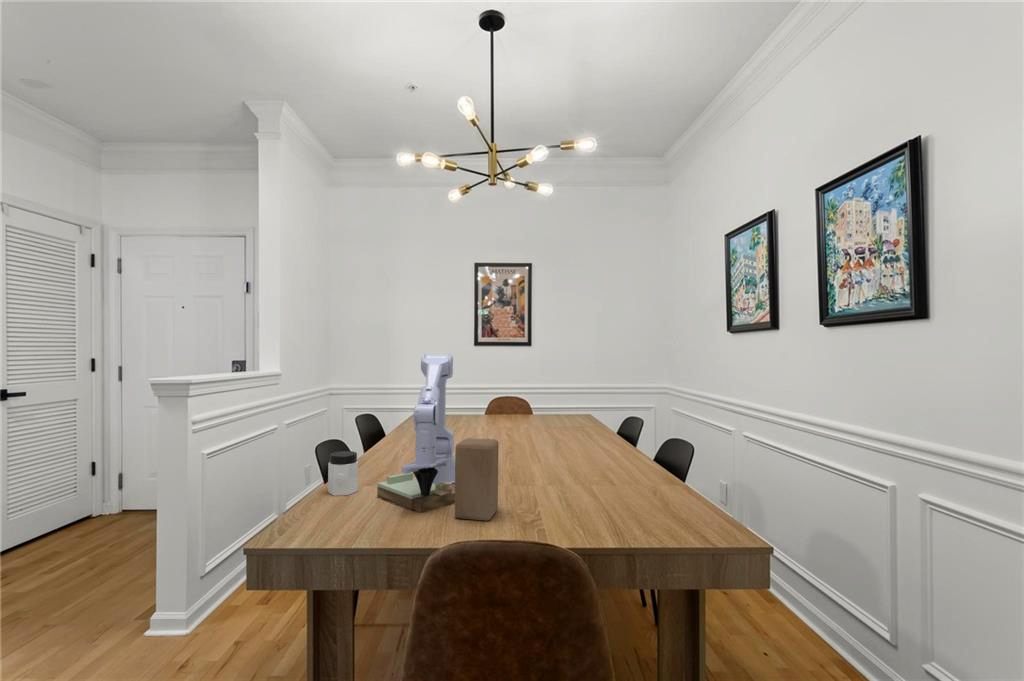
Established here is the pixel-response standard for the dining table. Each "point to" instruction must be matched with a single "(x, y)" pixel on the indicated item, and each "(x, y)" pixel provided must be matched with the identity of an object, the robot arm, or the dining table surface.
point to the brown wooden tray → (417, 500)
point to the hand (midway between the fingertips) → (425, 495)
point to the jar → (343, 473)
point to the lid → (404, 485)
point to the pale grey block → (443, 488)
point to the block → (476, 479)
